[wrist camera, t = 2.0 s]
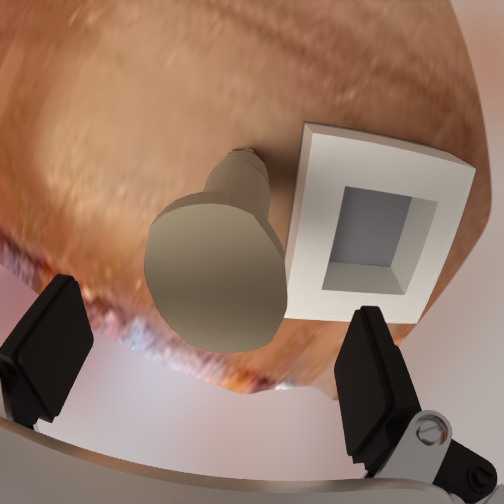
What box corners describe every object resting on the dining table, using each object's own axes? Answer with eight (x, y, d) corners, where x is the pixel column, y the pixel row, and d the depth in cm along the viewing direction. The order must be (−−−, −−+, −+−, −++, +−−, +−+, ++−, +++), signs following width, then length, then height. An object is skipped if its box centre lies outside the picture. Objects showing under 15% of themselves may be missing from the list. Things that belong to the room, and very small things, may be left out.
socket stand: (303, 121, 22) (312, 132, 18) (443, 150, 22) (476, 168, 18) (280, 279, 29) (282, 317, 25) (400, 288, 29) (416, 323, 25)
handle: (270, 122, 22) (277, 195, 9) (280, 202, 25) (291, 349, 12) (205, 130, 22) (123, 214, 10) (219, 209, 26) (175, 354, 13)
